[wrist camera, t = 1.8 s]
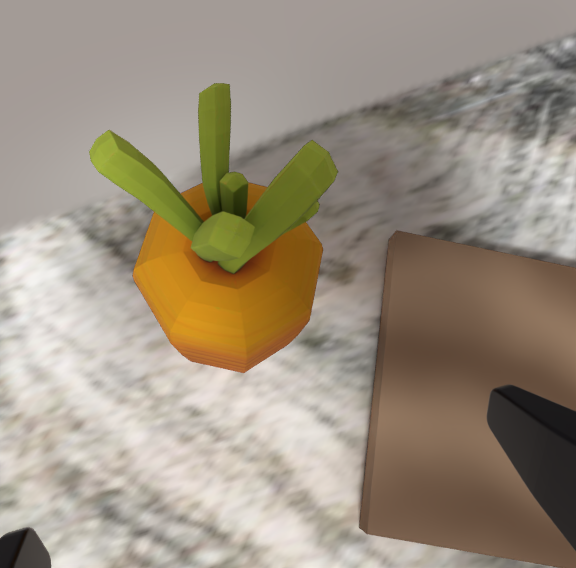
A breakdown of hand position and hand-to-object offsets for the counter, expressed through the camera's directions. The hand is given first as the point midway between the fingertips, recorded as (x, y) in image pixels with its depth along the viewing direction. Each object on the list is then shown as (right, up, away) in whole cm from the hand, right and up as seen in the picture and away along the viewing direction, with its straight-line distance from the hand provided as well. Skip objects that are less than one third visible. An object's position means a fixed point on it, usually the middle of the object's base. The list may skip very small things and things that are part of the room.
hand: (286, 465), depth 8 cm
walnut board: (+10, -2, +13) cm, 17 cm away
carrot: (-3, +1, +13) cm, 13 cm away
